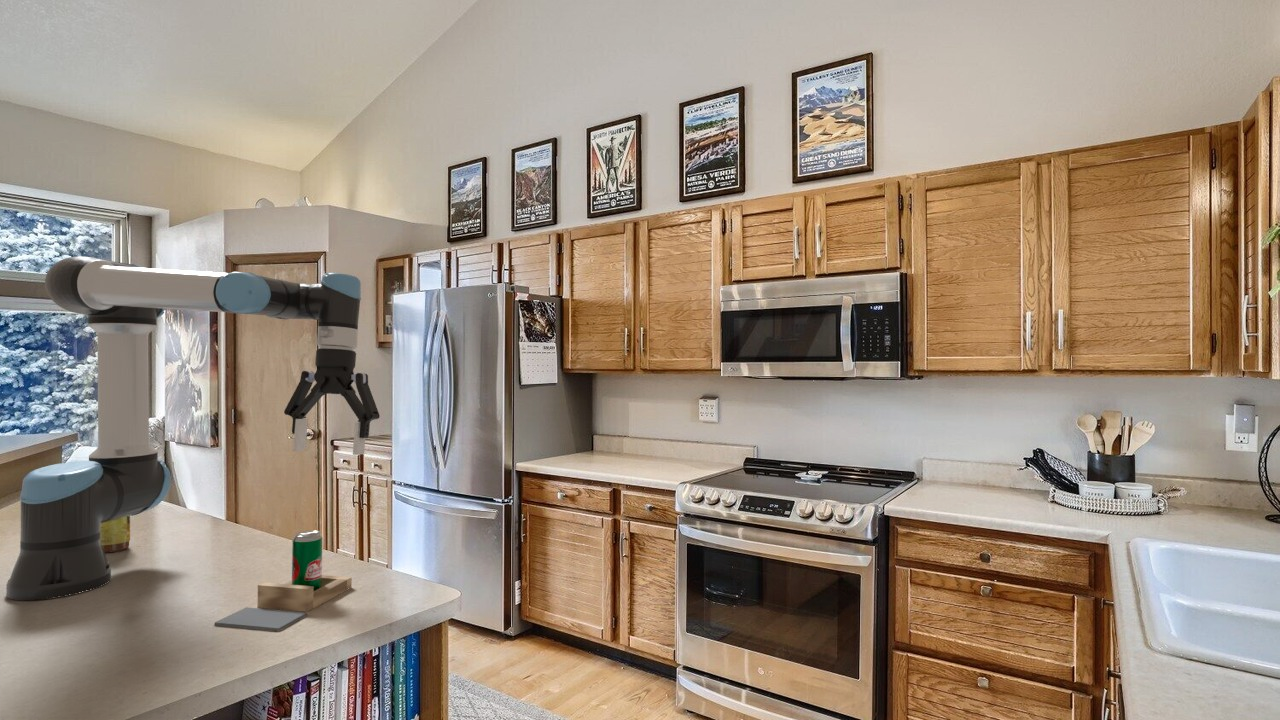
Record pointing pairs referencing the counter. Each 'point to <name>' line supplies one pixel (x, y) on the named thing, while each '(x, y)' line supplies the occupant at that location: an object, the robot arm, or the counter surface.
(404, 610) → the counter surface
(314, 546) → the soda can
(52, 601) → the counter surface
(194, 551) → the counter surface
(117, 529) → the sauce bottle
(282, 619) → the rubber mat
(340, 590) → the oak frame
